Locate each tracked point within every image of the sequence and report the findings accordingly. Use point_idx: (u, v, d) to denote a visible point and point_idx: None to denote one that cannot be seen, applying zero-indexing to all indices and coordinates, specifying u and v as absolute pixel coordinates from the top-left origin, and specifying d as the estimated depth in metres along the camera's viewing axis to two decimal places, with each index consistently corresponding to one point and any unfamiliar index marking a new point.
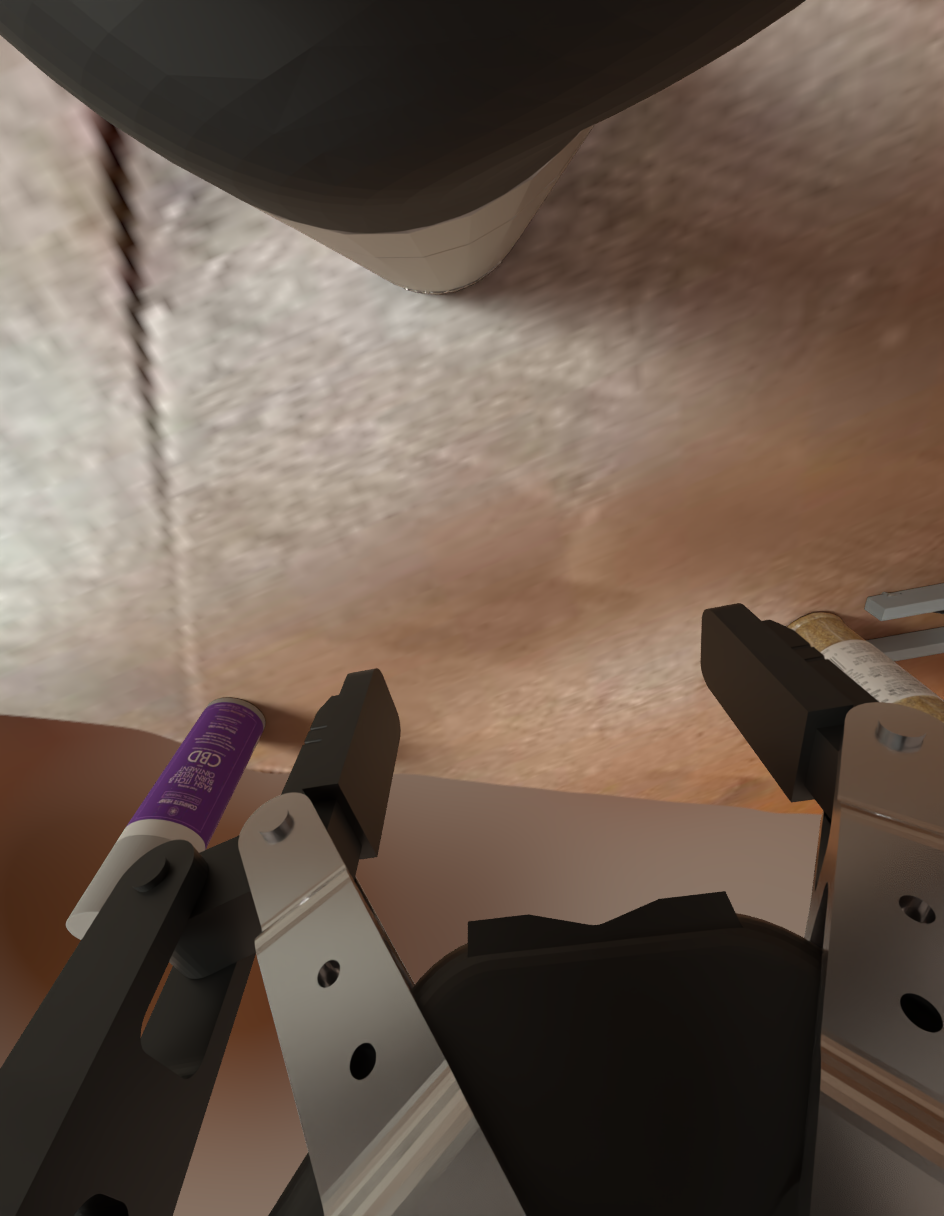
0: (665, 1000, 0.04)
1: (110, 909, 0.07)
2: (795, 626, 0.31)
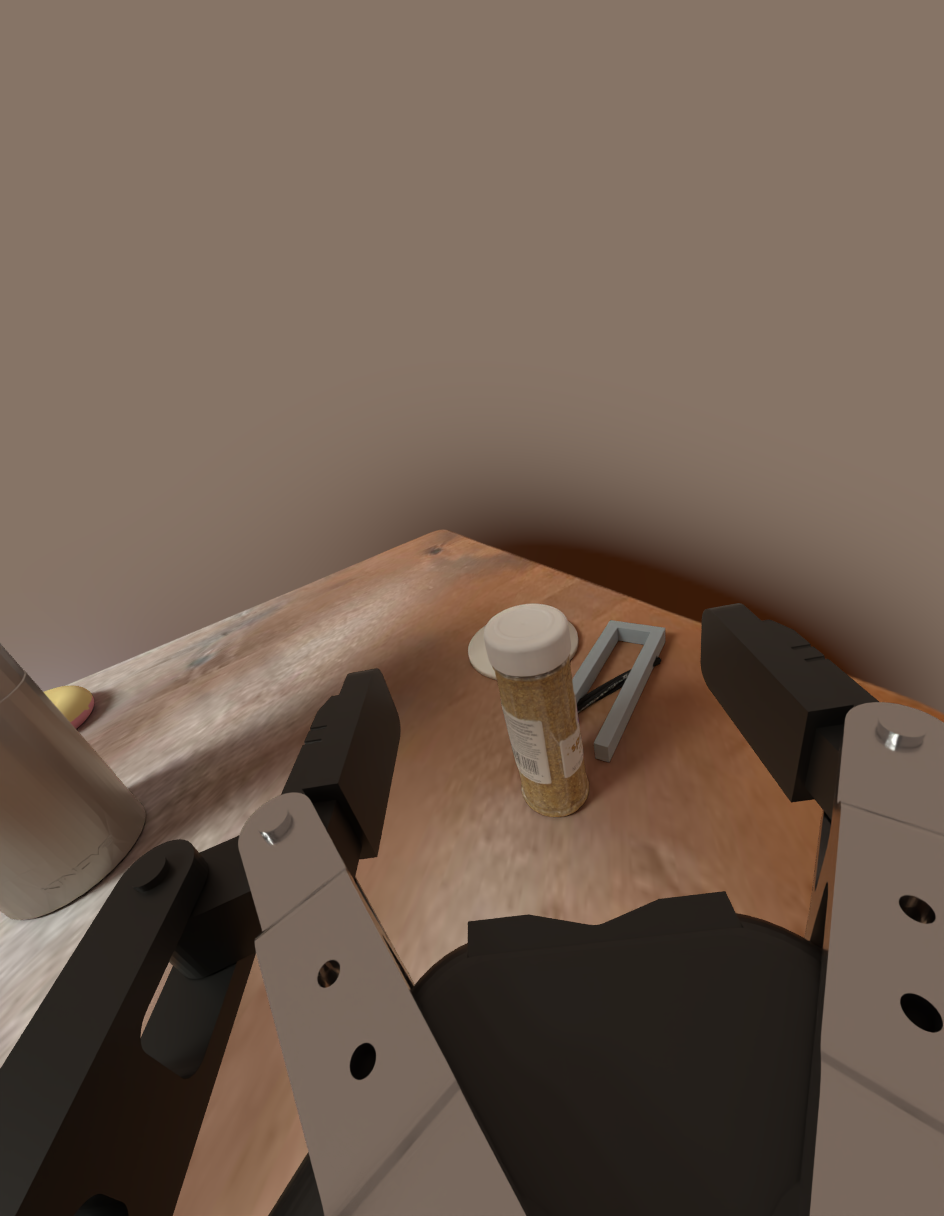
0: (665, 1000, 0.04)
1: (110, 909, 0.07)
2: (522, 791, 0.30)
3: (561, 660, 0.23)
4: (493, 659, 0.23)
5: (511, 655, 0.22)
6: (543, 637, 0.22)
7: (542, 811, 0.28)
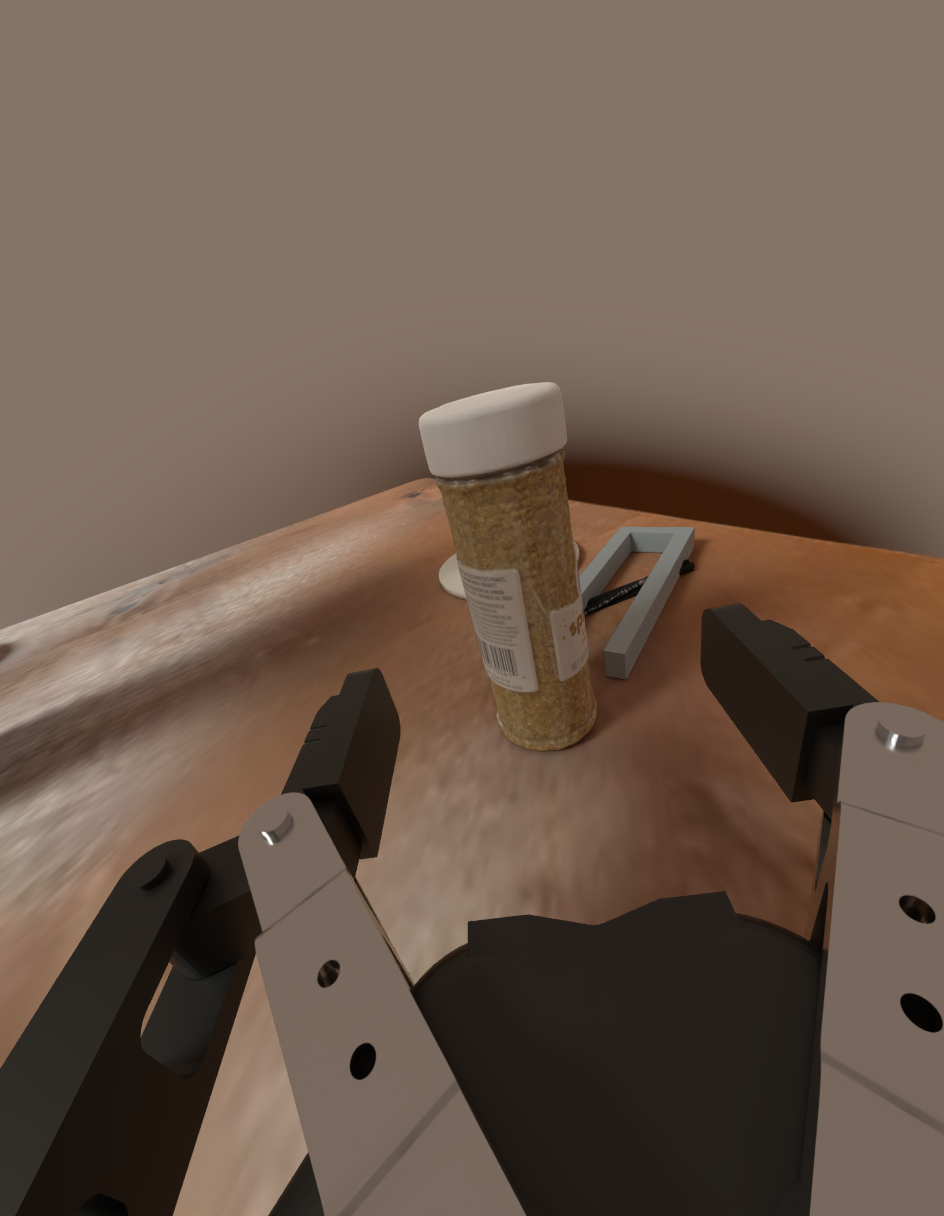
0: (665, 1000, 0.04)
1: (110, 909, 0.07)
2: (498, 718, 0.20)
3: (549, 444, 0.13)
4: (432, 453, 0.14)
5: (458, 428, 0.12)
6: (516, 394, 0.12)
7: (526, 742, 0.18)
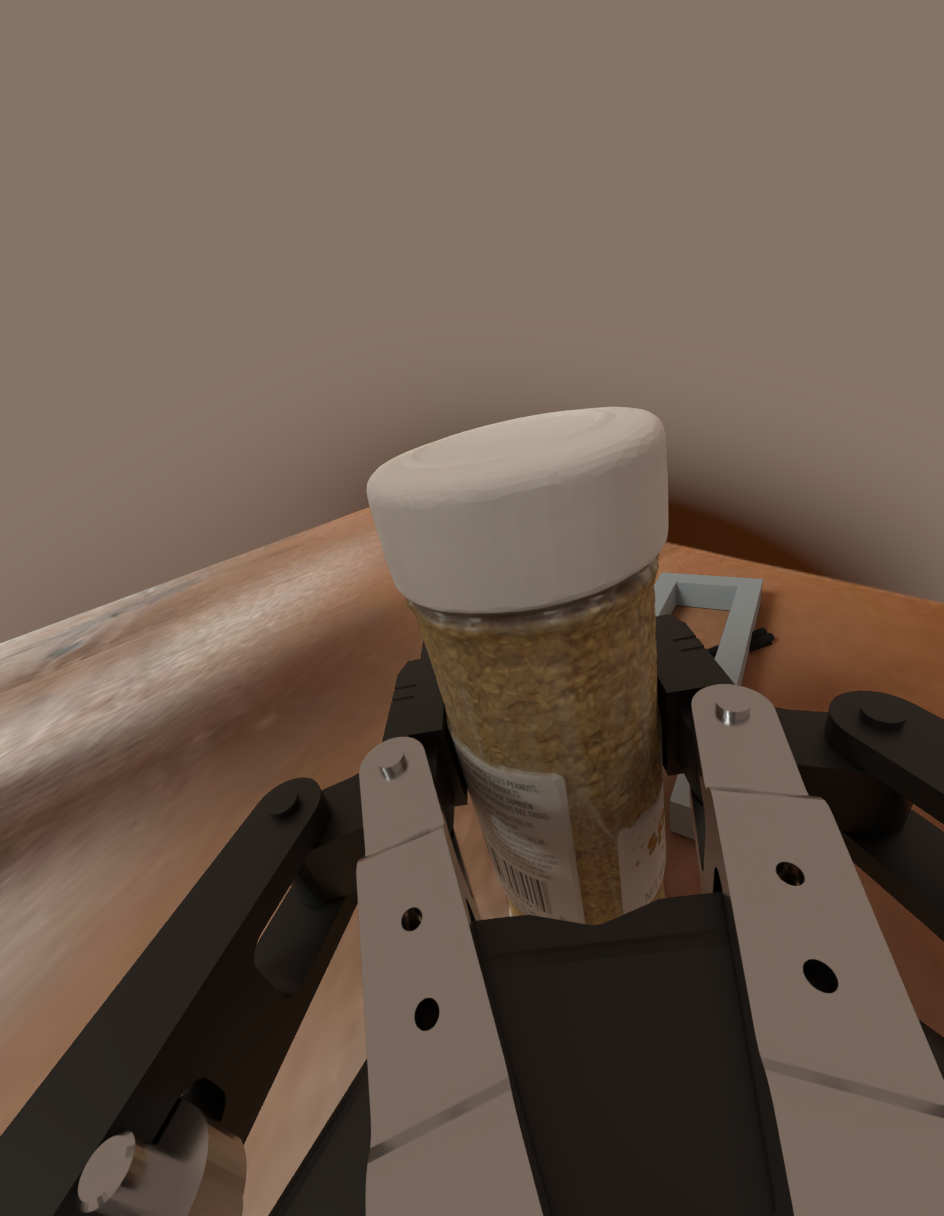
0: (665, 1000, 0.04)
1: (249, 826, 0.07)
2: None
3: (645, 550, 0.06)
4: (392, 557, 0.06)
5: (444, 521, 0.05)
6: (580, 443, 0.05)
7: None
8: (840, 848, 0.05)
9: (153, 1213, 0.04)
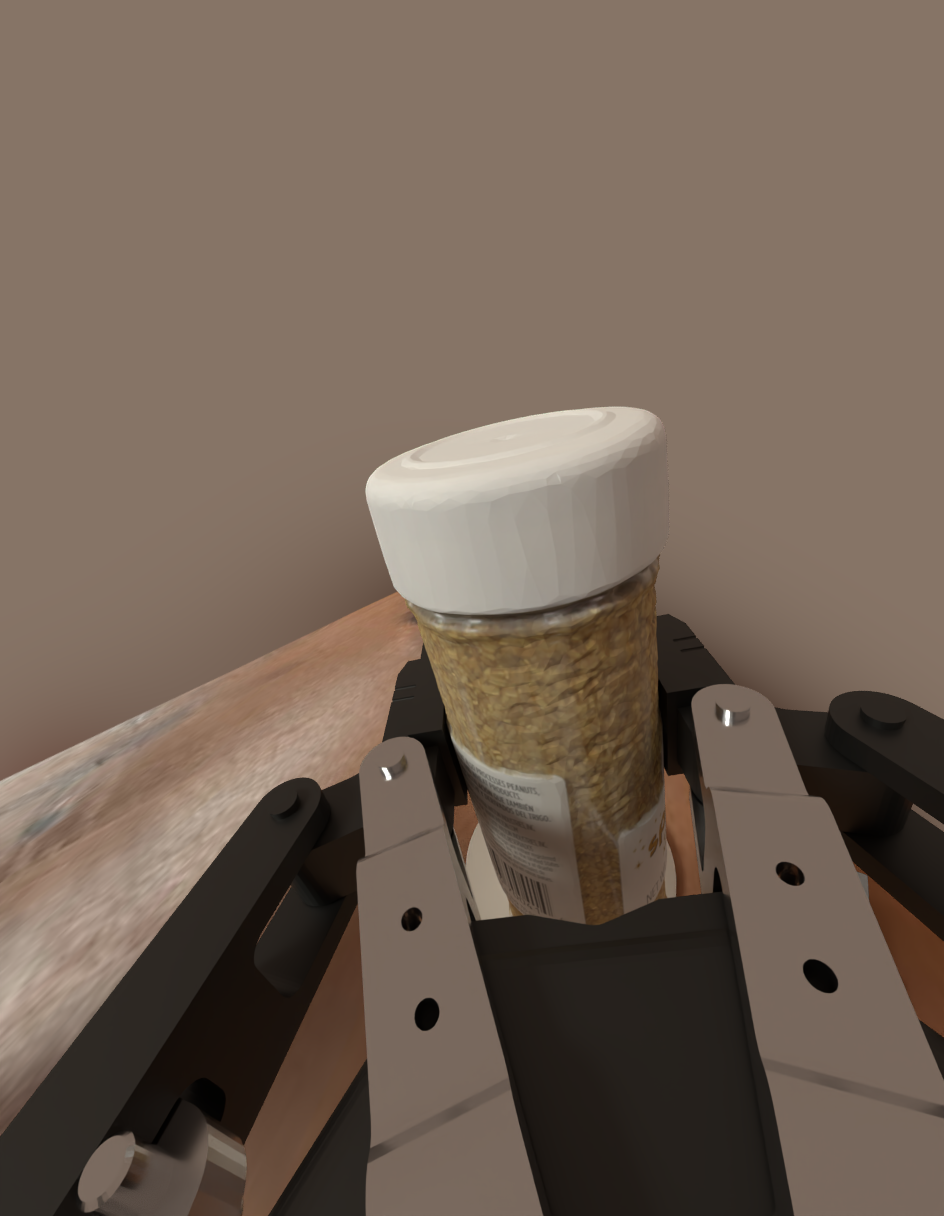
0: (665, 1000, 0.04)
1: (249, 825, 0.07)
2: None
3: (646, 550, 0.06)
4: (391, 558, 0.06)
5: (443, 522, 0.05)
6: (580, 443, 0.05)
7: None
8: (840, 848, 0.05)
9: (152, 1214, 0.04)
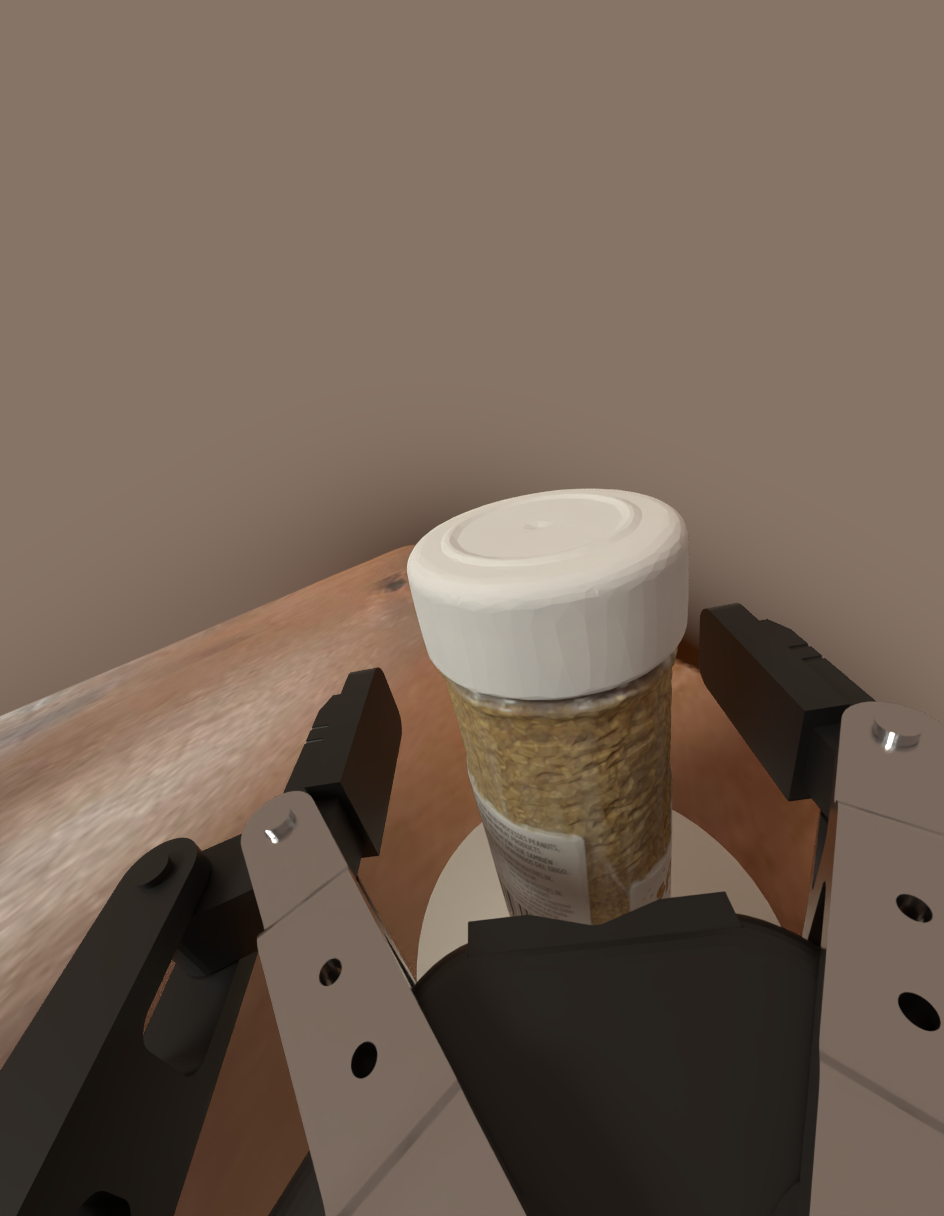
0: (665, 1000, 0.04)
1: (113, 907, 0.07)
2: None
3: (669, 643, 0.06)
4: (432, 638, 0.07)
5: (488, 621, 0.06)
6: (613, 554, 0.06)
7: None
8: None
9: None
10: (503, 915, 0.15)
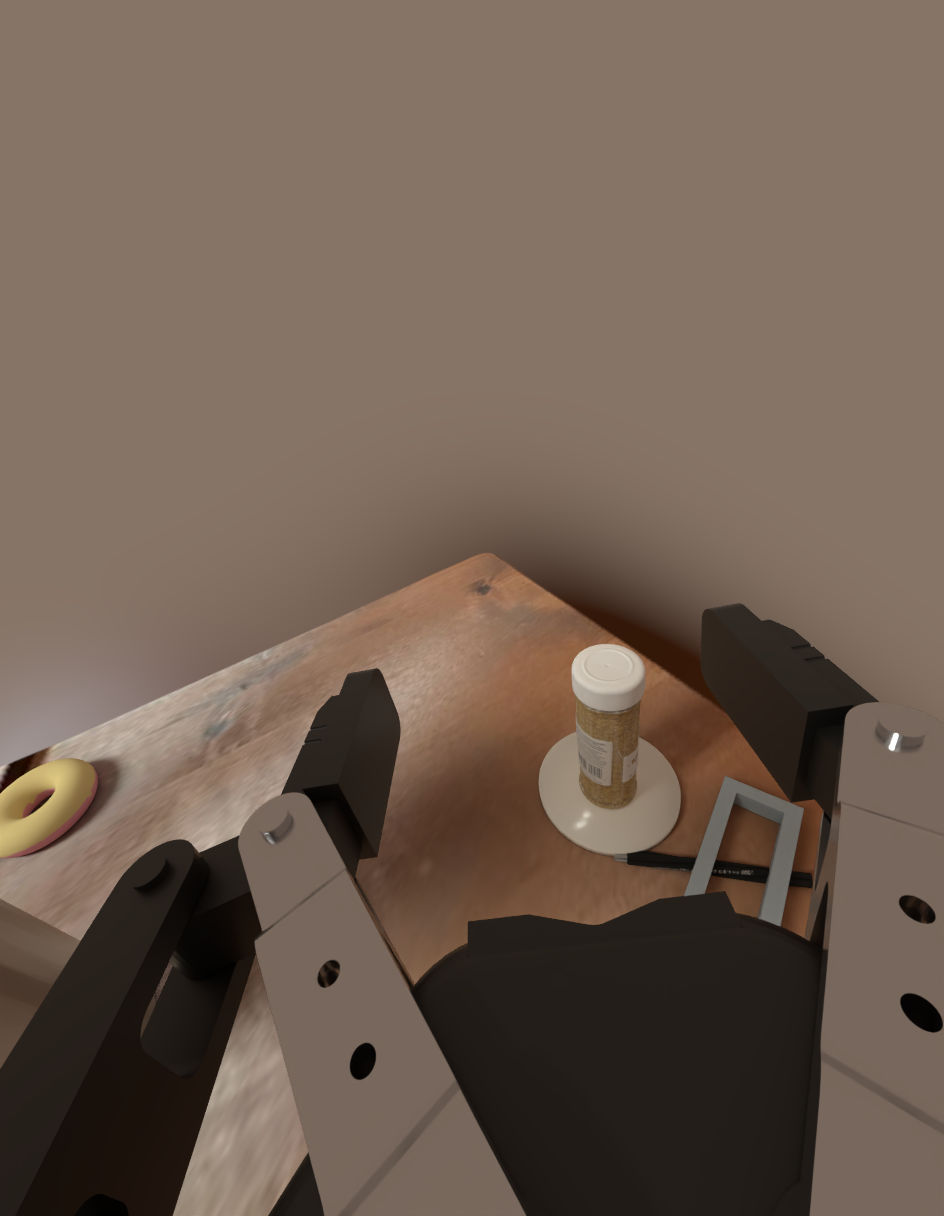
0: (665, 1000, 0.04)
1: (110, 909, 0.07)
2: (580, 785, 0.36)
3: (637, 700, 0.28)
4: (580, 693, 0.28)
5: (598, 695, 0.27)
6: (626, 683, 0.27)
7: (598, 803, 0.35)
8: None
9: None
10: (572, 774, 0.38)
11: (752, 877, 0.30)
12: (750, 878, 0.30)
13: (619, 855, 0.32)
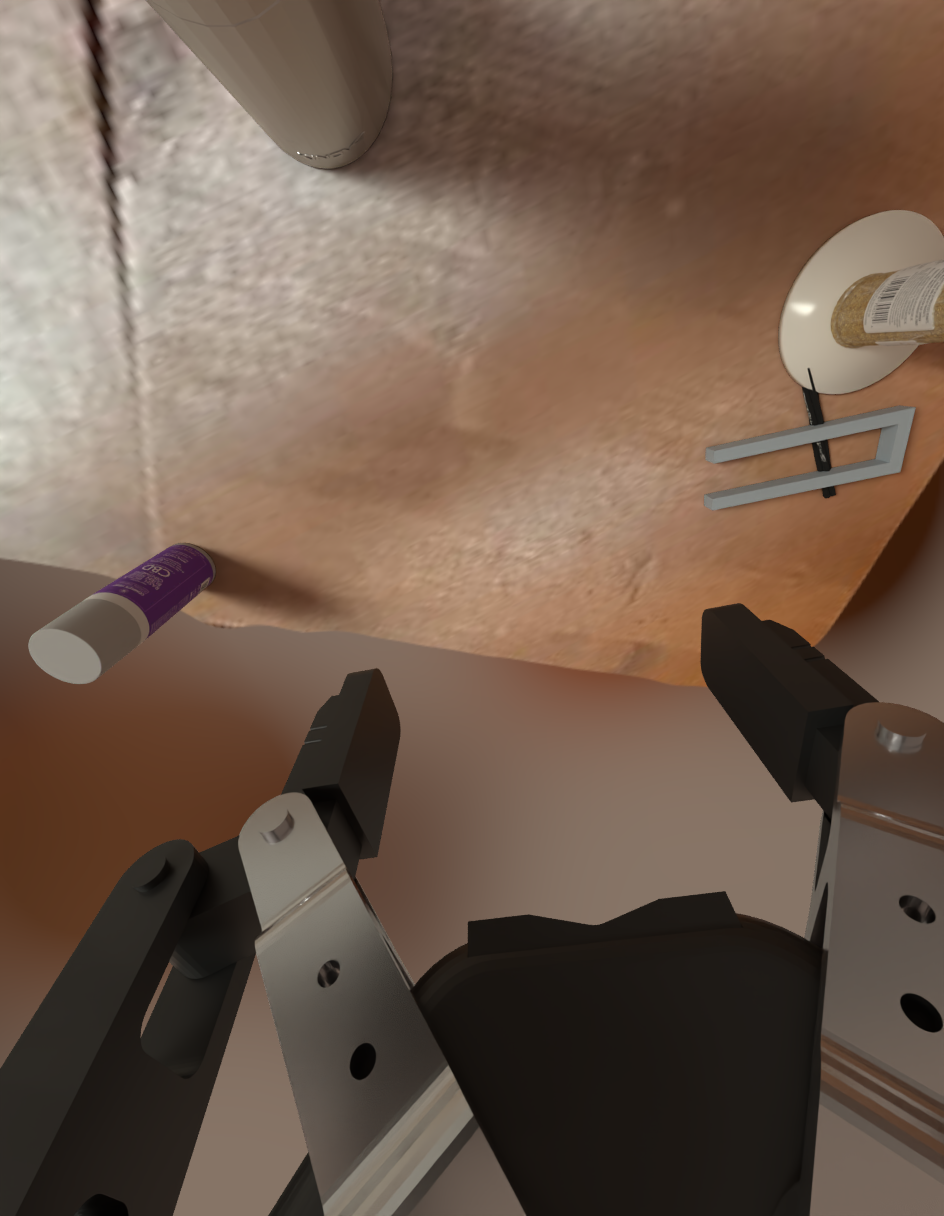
0: (665, 1000, 0.04)
1: (110, 909, 0.07)
2: (850, 289, 0.31)
3: None
4: None
5: None
6: None
7: (834, 322, 0.32)
8: None
9: None
10: (859, 267, 0.31)
11: (819, 461, 0.38)
12: (817, 460, 0.38)
13: None
